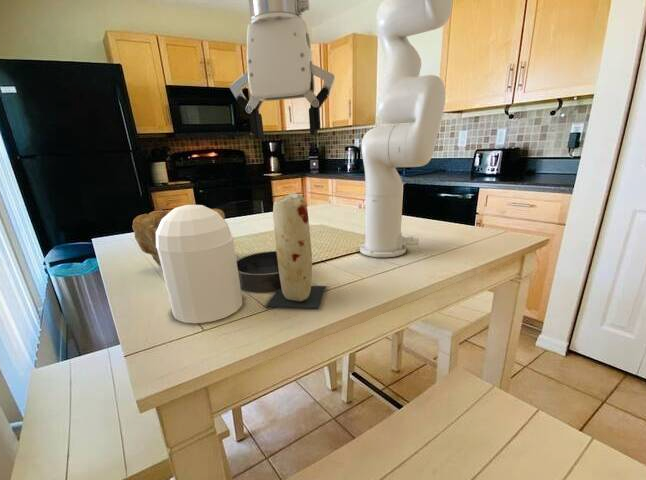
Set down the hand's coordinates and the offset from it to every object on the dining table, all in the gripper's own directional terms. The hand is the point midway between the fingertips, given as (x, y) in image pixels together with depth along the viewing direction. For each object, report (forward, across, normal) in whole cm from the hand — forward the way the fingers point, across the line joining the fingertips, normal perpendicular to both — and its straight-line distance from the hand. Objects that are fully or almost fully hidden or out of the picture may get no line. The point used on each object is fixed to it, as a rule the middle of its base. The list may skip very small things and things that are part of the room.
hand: (286, 136), depth 57 cm
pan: (+30, +9, -9) cm, 33 cm away
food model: (+30, 0, +1) cm, 30 cm away
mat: (+30, 0, +1) cm, 30 cm away
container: (+30, +17, +6) cm, 35 cm away
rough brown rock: (+30, +33, -15) cm, 47 cm away
